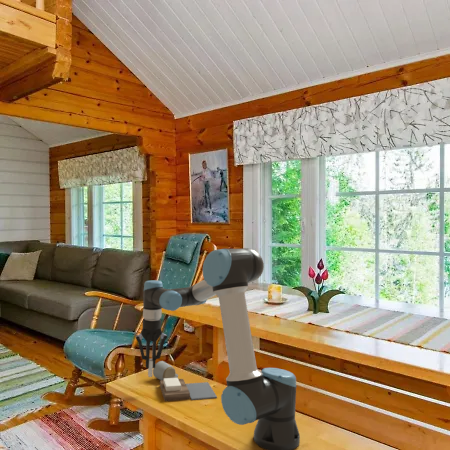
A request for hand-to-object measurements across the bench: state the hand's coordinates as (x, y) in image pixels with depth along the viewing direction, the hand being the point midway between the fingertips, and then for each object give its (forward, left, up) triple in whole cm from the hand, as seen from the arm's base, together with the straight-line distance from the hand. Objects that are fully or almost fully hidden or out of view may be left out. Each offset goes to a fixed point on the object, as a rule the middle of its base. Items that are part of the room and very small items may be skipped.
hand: (150, 375), depth 182 cm
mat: (-1, -21, -8) cm, 22 cm away
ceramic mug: (+15, -9, -8) cm, 19 cm away
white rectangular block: (0, -9, -5) cm, 11 cm away
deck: (0, -10, -8) cm, 13 cm away
